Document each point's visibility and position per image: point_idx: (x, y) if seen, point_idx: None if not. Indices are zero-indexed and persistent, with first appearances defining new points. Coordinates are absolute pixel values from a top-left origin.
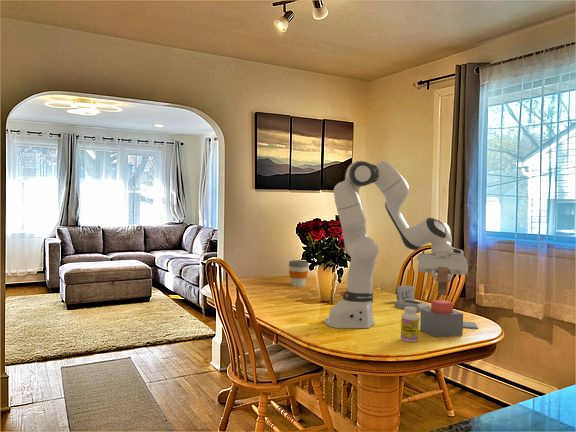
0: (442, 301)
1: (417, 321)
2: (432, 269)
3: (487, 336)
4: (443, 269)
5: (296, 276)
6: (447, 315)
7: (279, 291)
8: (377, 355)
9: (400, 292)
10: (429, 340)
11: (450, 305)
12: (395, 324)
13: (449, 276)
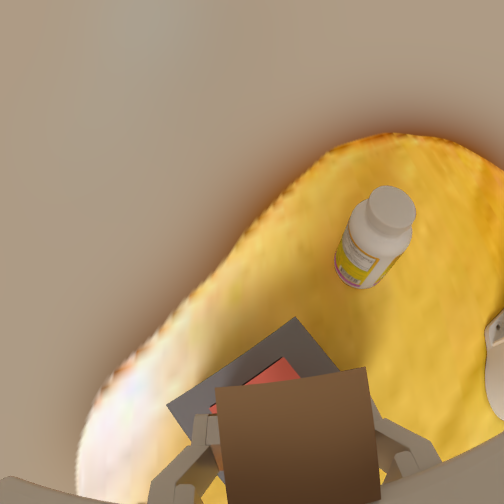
0: None
1: (349, 219)
2: (437, 464)
3: (109, 419)
4: (290, 381)
5: None
6: (241, 356)
7: None
8: (379, 134)
9: None
10: (300, 289)
11: None
12: (434, 433)
13: (209, 437)
